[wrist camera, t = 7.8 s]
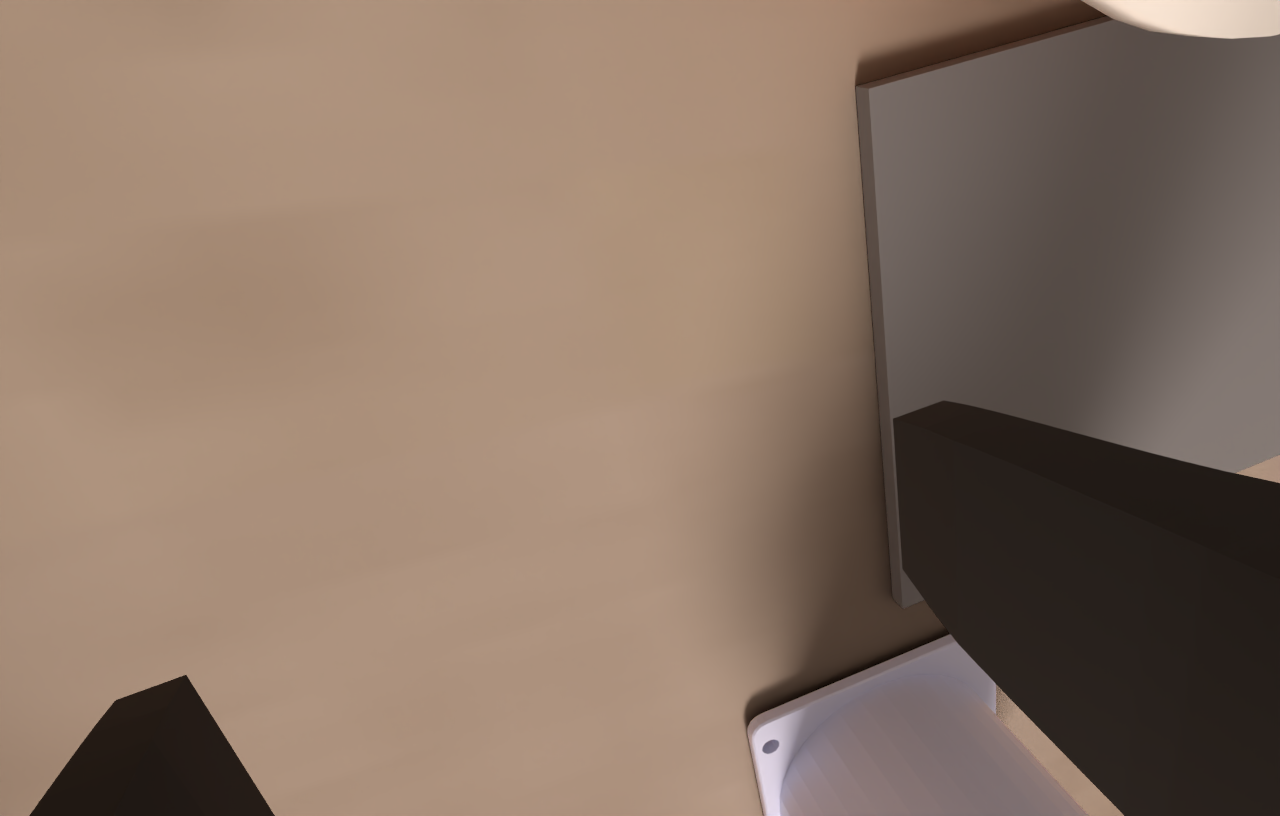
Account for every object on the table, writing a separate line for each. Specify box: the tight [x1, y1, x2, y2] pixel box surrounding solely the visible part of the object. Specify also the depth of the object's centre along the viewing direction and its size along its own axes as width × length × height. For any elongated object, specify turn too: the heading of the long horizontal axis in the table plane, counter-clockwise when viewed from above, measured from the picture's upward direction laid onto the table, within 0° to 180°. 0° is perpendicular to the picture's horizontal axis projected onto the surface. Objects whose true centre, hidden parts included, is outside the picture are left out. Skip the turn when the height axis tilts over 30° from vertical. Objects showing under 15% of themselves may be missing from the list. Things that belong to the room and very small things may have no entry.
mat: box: [856, 16, 1280, 609], centre depth 22 cm, size 14×14×1 cm
